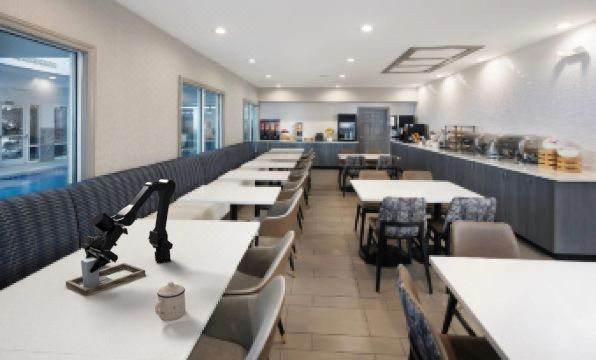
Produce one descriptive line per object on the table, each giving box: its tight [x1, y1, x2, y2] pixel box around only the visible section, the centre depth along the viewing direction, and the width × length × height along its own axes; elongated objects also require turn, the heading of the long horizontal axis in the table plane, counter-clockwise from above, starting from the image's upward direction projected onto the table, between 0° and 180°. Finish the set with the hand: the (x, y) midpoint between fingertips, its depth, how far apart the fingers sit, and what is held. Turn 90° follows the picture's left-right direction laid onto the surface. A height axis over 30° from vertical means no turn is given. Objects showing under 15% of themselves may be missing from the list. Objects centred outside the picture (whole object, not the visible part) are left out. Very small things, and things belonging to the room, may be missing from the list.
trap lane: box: [65, 262, 146, 296], centre depth 166 cm, size 26×16×2 cm, turn 144°
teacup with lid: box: [154, 281, 187, 321], centre depth 133 cm, size 12×9×12 cm
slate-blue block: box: [80, 257, 100, 289], centre depth 160 cm, size 4×4×11 cm
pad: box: [104, 271, 127, 280], centre depth 170 cm, size 6×7×1 cm
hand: (86, 270), depth 159 cm, fingers open, 6 cm apart
